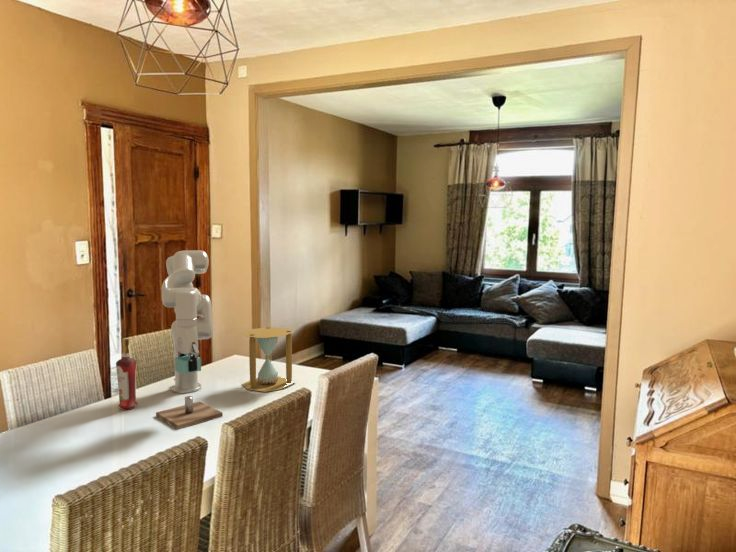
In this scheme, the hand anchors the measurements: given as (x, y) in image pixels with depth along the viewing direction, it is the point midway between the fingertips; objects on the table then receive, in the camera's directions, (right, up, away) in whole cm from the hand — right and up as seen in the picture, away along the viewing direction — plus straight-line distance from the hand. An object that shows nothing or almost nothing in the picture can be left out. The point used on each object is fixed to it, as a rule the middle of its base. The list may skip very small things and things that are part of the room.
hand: (188, 368), depth 201 cm
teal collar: (0, -1, 0) cm, 1 cm away
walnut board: (0, -19, +2) cm, 19 cm away
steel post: (0, -17, +2) cm, 17 cm away
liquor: (-28, -18, +11) cm, 35 cm away
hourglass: (+23, -15, +42) cm, 50 cm away
